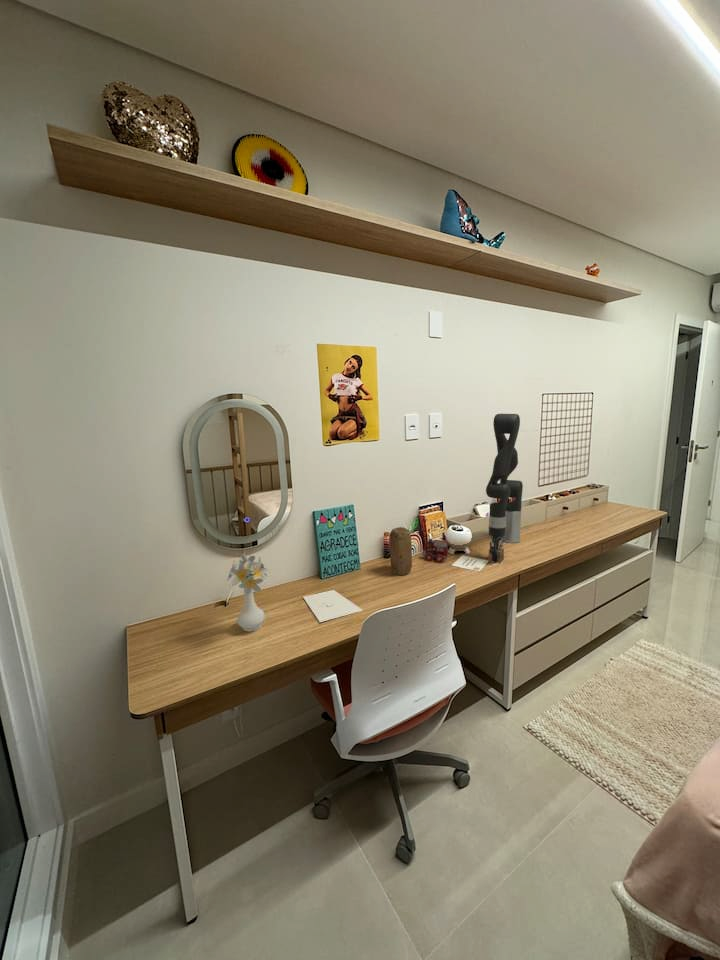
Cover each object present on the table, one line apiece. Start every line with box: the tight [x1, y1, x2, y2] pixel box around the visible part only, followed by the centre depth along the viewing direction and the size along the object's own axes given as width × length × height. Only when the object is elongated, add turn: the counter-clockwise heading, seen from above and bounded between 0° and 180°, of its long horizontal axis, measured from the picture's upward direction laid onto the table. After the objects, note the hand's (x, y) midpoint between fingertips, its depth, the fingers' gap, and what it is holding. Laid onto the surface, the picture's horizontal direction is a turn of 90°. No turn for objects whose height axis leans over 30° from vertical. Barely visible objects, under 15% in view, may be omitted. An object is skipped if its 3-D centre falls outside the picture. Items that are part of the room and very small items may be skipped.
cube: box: [488, 547, 505, 564], centre depth 176 cm, size 6×6×6 cm
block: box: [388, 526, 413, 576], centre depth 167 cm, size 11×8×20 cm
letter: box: [451, 555, 490, 573], centre depth 174 cm, size 14×13×1 cm
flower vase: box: [226, 553, 269, 633], centre depth 127 cm, size 13×18×25 cm
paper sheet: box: [302, 589, 364, 623], centre depth 145 cm, size 24×29×1 cm
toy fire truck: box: [422, 538, 449, 564], centre depth 180 cm, size 7×12×10 cm, turn 62°
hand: (496, 558), depth 177 cm, fingers closed on cube, 5 cm apart
